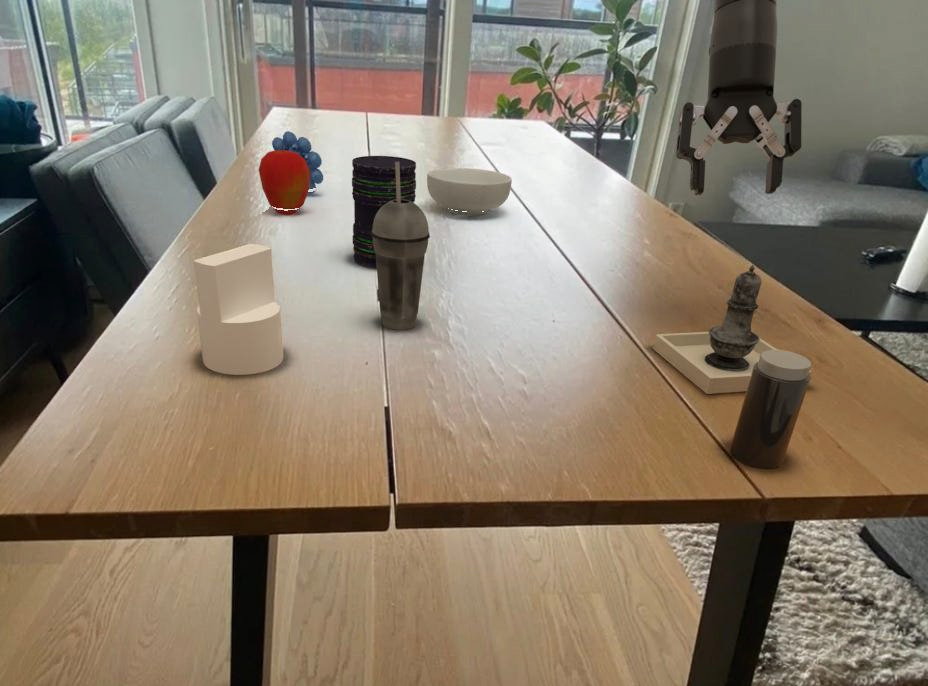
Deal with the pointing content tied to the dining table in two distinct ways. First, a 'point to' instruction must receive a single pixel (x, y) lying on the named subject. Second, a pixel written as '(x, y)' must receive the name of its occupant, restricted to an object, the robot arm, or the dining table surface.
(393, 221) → the beverage cup
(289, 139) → the grapes
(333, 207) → the dining table surface
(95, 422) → the dining table surface
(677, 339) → the ivory tray
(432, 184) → the cereal bowl
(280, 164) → the apple
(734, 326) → the salt shaker
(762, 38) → the robot arm
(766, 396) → the black pepper shaker
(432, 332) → the dining table surface
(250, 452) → the dining table surface
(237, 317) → the cylinder with rectangular tab
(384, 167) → the storage jar
